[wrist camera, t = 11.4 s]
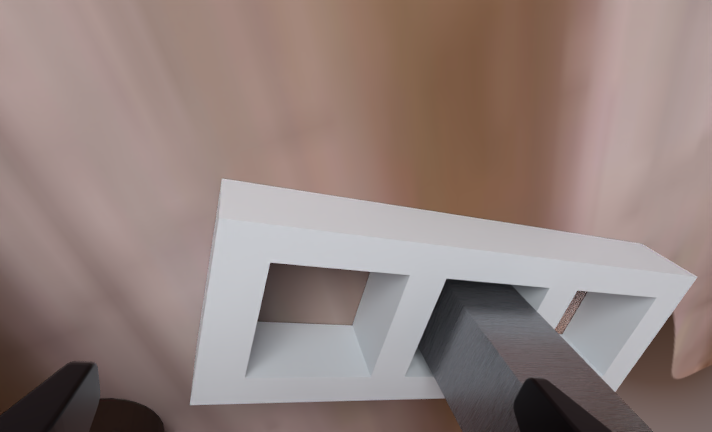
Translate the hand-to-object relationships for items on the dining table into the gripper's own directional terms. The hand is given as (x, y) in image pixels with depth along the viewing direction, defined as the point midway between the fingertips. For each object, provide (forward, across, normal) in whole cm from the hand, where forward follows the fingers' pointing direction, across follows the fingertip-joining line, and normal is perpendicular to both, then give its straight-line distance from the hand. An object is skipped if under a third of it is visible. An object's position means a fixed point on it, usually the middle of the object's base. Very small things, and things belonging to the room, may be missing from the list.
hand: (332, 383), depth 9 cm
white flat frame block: (+14, -10, +7) cm, 18 cm away
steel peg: (+14, -10, +7) cm, 18 cm away
